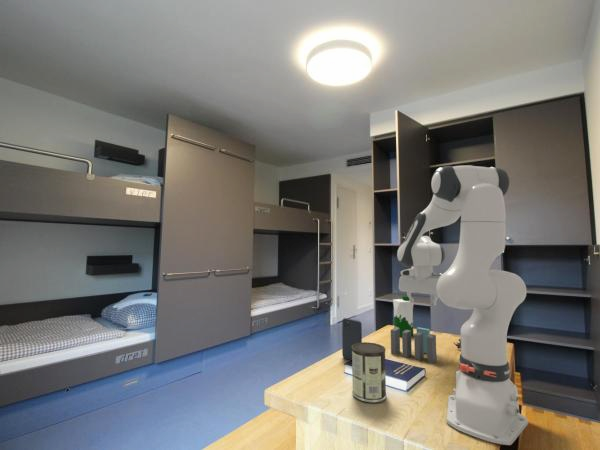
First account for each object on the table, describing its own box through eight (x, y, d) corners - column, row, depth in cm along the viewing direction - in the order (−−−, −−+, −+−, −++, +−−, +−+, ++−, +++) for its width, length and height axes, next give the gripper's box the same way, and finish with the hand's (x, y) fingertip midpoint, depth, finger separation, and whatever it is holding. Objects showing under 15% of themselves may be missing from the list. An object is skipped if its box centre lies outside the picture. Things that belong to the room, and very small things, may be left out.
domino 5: (436, 360, 119) (435, 335, 120) (432, 364, 115) (432, 337, 116) (431, 359, 120) (430, 334, 121) (427, 362, 116) (426, 336, 117)
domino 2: (411, 354, 125) (411, 330, 126) (407, 357, 121) (406, 333, 122) (406, 353, 126) (406, 329, 127) (402, 356, 123) (402, 332, 123)
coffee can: (369, 383, 98) (369, 340, 99) (393, 397, 89) (392, 349, 90) (345, 390, 93) (344, 344, 94) (367, 406, 84) (367, 355, 85)
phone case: (341, 357, 121) (341, 318, 122) (343, 356, 122) (343, 317, 123) (360, 363, 114) (359, 321, 116) (362, 362, 116) (362, 321, 117)
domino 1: (400, 351, 128) (399, 328, 129) (395, 354, 125) (395, 330, 125) (395, 350, 130) (395, 327, 130) (391, 353, 126) (390, 329, 127)
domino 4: (423, 357, 122) (423, 332, 123) (419, 360, 118) (419, 335, 119) (418, 356, 123) (418, 331, 124) (414, 359, 119) (414, 334, 120)
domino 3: (429, 354, 126) (428, 330, 127) (417, 351, 129) (416, 328, 130) (430, 352, 127) (429, 329, 128) (418, 350, 131) (418, 327, 131)
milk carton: (416, 337, 149) (415, 297, 151) (400, 338, 148) (399, 298, 149) (407, 332, 158) (406, 294, 160) (391, 333, 156) (390, 295, 158)
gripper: (449, 273, 127) (450, 305, 126) (402, 270, 140) (402, 300, 139) (445, 274, 122) (446, 308, 121) (397, 271, 135) (397, 301, 134)
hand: (422, 303), depth 130 cm, fingers open, 8 cm apart
